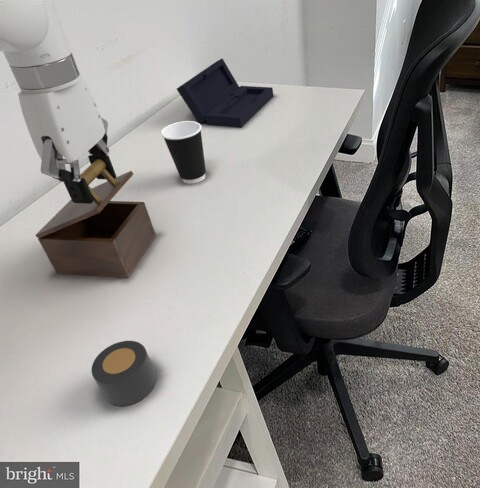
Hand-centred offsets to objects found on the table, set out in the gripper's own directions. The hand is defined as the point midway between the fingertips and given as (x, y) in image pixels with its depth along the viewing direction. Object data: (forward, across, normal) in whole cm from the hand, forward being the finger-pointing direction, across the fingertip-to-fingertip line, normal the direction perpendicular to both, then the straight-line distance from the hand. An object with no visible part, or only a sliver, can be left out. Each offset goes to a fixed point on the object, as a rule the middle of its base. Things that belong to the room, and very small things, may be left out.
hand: (95, 189), depth 74 cm
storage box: (+13, -62, 0) cm, 63 cm away
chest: (+13, 0, -3) cm, 13 cm away
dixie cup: (+13, -26, +3) cm, 29 cm away
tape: (+13, +25, +14) cm, 31 cm away
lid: (+3, 0, -3) cm, 4 cm away
